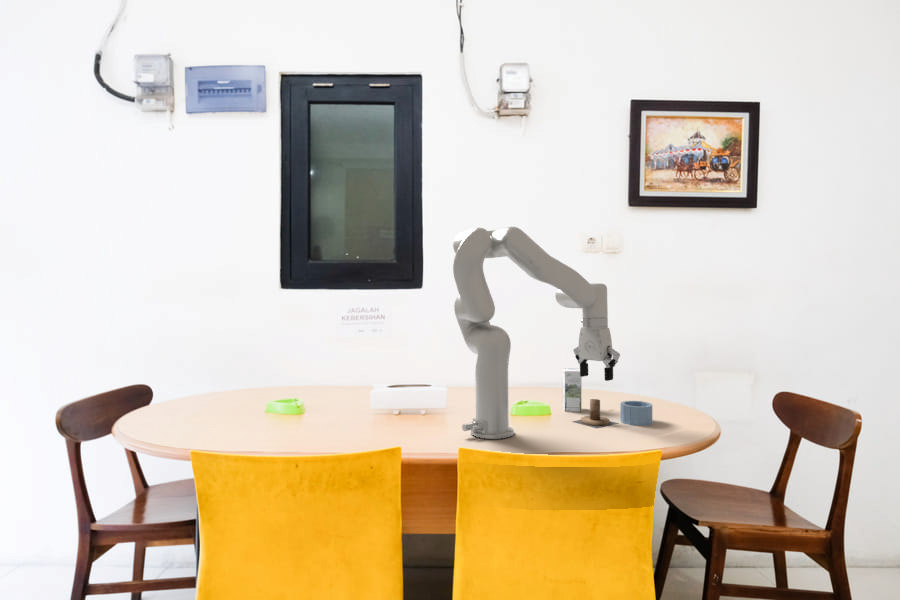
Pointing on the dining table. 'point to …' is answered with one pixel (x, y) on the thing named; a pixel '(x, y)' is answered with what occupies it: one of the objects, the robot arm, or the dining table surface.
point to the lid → (595, 415)
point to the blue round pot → (636, 413)
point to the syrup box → (572, 390)
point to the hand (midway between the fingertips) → (596, 378)
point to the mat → (595, 426)
